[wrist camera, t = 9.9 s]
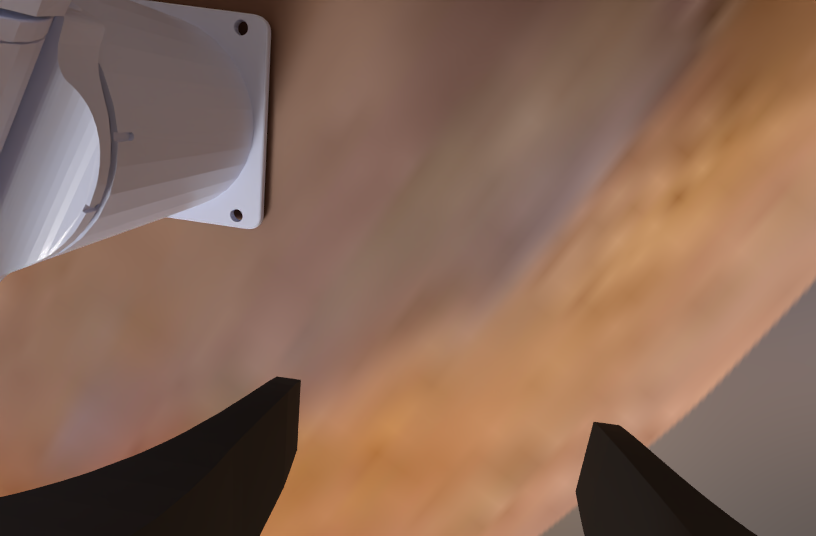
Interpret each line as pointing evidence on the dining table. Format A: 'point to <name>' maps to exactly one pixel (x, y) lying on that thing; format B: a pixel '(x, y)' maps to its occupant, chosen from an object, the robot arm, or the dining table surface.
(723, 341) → the dining table surface
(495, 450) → the dining table surface
